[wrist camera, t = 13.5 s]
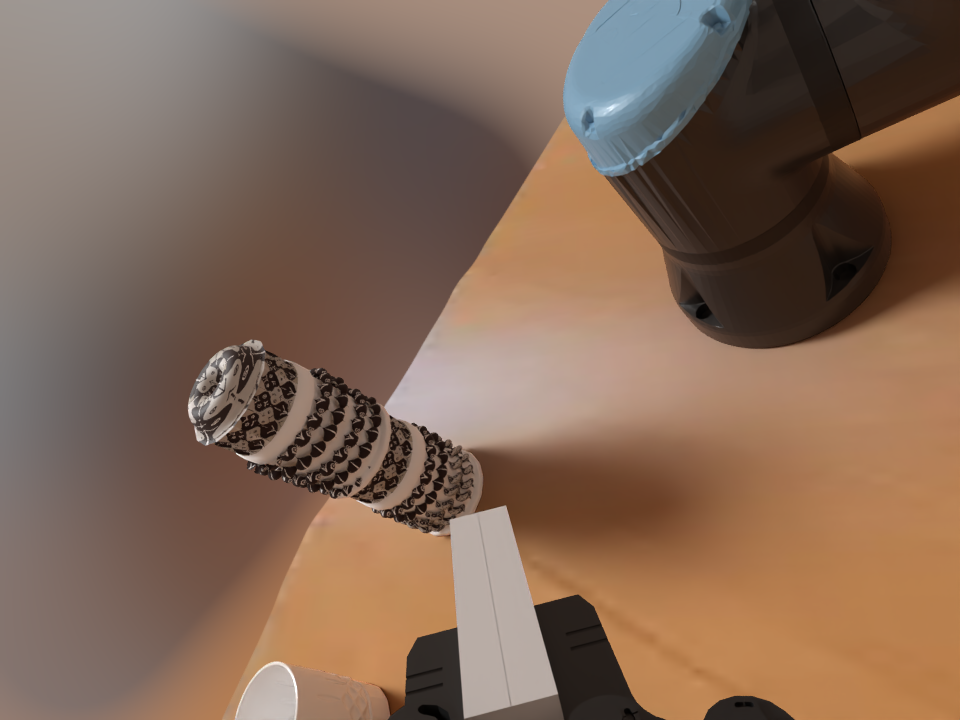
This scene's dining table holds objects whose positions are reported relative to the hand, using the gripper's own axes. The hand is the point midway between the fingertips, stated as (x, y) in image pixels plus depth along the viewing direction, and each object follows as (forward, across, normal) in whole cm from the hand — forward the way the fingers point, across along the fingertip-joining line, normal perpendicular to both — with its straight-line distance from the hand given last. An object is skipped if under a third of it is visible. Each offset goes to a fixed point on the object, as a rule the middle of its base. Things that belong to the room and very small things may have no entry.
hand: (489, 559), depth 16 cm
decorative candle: (+40, -4, -16) cm, 43 cm away
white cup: (+31, -15, -31) cm, 46 cm away
